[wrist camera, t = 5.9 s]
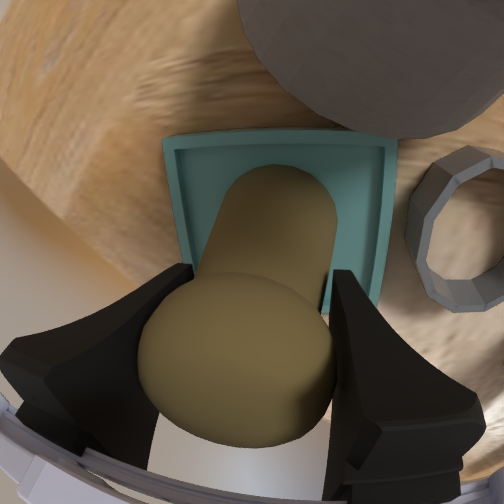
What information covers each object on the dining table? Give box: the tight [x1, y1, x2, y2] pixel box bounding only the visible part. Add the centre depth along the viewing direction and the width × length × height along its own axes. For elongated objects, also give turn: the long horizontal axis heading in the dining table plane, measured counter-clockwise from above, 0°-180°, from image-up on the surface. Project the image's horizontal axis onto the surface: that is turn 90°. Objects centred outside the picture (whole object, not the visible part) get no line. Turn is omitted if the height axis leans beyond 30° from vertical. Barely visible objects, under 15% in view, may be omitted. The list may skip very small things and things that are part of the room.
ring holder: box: [404, 145, 504, 313], centre depth 13 cm, size 9×9×2 cm
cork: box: [137, 164, 338, 448], centre depth 11 cm, size 6×6×11 cm
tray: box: [162, 127, 398, 313], centre depth 16 cm, size 10×11×1 cm
